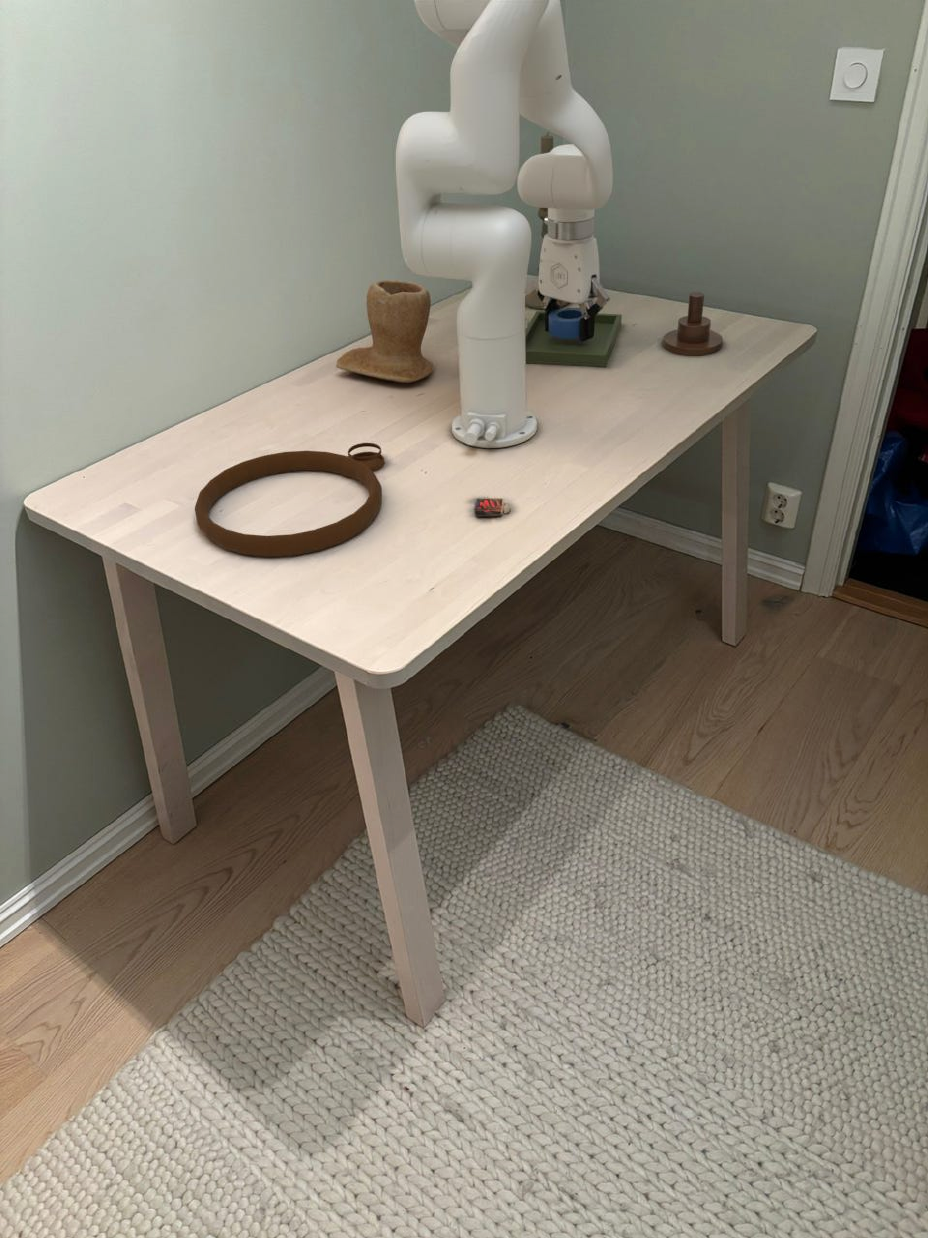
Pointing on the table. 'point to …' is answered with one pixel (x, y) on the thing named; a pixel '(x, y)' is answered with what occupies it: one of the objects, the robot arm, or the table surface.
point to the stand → (693, 332)
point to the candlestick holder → (542, 233)
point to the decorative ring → (348, 466)
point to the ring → (565, 322)
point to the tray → (571, 343)
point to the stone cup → (393, 333)
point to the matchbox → (490, 506)
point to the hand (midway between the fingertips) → (569, 333)
